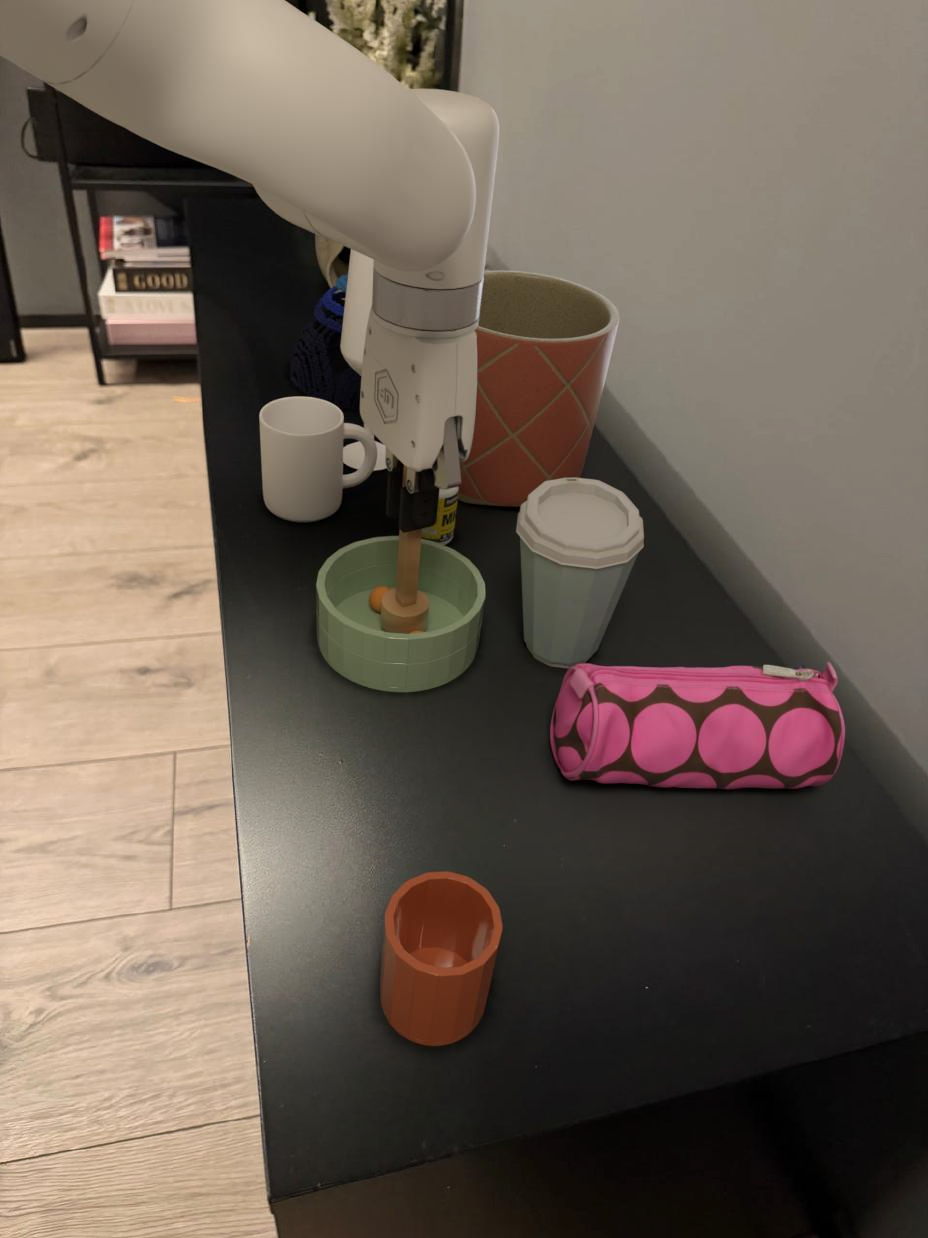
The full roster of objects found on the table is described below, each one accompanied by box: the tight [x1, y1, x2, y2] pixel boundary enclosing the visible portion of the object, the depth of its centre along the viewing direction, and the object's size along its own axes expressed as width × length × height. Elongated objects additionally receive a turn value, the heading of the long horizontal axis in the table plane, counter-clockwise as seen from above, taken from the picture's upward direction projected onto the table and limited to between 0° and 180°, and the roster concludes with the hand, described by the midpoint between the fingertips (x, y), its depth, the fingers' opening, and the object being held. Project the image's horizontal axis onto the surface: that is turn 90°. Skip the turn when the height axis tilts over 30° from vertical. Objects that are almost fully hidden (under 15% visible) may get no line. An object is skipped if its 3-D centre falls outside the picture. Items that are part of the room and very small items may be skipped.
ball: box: [369, 586, 390, 612], centre depth 84 cm, size 2×2×2 cm
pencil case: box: [549, 661, 846, 790], centre depth 71 cm, size 21×10×10 cm, turn 97°
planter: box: [457, 270, 620, 508], centre depth 101 cm, size 19×19×20 cm
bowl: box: [315, 535, 486, 693], centre depth 81 cm, size 14×14×6 cm
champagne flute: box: [339, 249, 387, 472], centre depth 99 cm, size 7×7×24 cm
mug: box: [258, 396, 377, 523], centre depth 95 cm, size 12×8×10 cm
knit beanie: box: [289, 274, 361, 412], centre depth 118 cm, size 20×20×14 cm
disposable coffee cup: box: [515, 477, 645, 669], centre depth 79 cm, size 11×11×15 cm
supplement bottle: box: [421, 467, 459, 546], centre depth 93 cm, size 5×5×8 cm
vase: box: [314, 234, 351, 302], centre depth 144 cm, size 22×22×28 cm
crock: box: [379, 870, 504, 1047], centre depth 55 cm, size 7×7×8 cm
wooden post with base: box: [380, 465, 429, 634], centre depth 77 cm, size 4×4×16 cm
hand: (410, 519), depth 75 cm, fingers closed on wooden post with base, 1 cm apart
